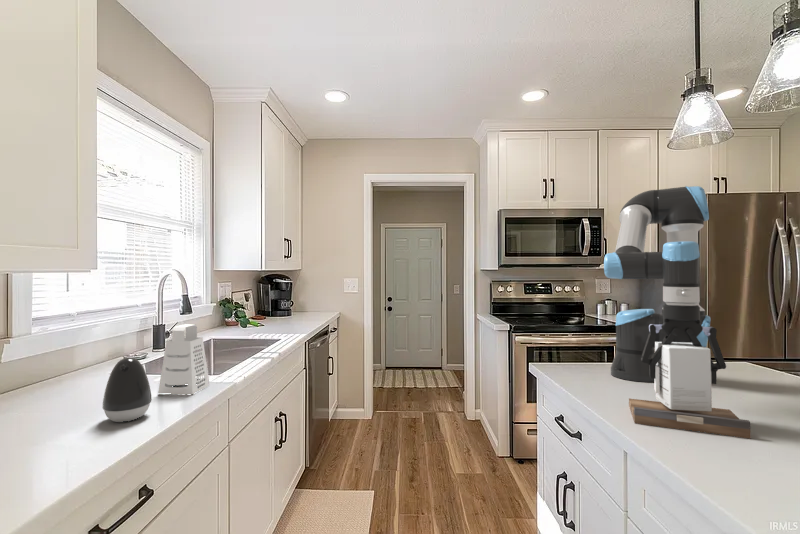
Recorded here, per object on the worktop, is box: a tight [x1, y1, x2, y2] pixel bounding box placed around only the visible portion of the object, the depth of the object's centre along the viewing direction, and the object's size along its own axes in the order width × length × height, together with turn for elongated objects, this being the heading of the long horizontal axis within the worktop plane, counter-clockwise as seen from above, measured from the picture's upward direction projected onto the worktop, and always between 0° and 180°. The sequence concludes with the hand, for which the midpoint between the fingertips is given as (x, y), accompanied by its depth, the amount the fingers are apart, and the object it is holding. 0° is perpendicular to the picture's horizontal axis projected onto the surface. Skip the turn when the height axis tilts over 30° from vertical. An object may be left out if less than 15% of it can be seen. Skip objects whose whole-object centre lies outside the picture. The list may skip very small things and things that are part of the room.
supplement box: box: [655, 342, 713, 412], centre depth 101 cm, size 9×9×15 cm
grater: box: [157, 323, 211, 395], centre depth 127 cm, size 10×10×20 cm
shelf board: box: [628, 397, 751, 439], centre depth 100 cm, size 14×22×4 cm, turn 66°
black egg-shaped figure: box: [101, 357, 152, 423], centre depth 102 cm, size 10×10×15 cm
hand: (681, 394), depth 101 cm, fingers closed on supplement box, 10 cm apart
